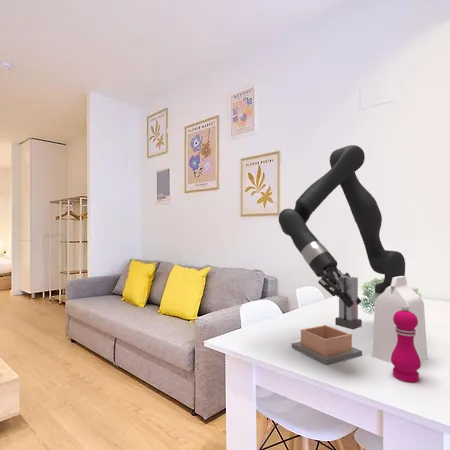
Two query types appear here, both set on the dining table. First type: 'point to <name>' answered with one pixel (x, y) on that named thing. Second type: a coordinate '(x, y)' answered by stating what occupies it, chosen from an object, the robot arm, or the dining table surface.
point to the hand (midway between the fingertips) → (354, 304)
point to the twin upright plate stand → (349, 315)
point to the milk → (385, 325)
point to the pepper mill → (405, 347)
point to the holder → (326, 344)
